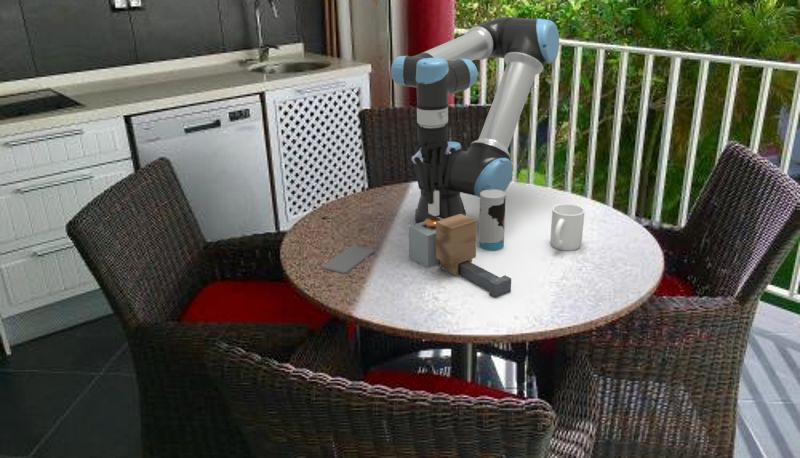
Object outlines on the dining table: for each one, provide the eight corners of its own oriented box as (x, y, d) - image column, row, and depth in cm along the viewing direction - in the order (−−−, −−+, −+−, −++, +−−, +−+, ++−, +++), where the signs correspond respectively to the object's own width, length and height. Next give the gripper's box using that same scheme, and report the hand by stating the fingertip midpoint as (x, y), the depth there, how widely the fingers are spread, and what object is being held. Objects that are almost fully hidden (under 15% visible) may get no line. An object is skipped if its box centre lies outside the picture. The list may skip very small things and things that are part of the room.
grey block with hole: (409, 257, 179) (408, 226, 176) (438, 247, 185) (438, 216, 181) (428, 268, 173) (427, 235, 170) (457, 257, 179) (458, 225, 175)
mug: (569, 259, 176) (572, 222, 172) (539, 251, 181) (541, 215, 177) (586, 242, 185) (589, 207, 181) (557, 236, 190) (559, 201, 186)
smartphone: (320, 266, 175) (352, 244, 187) (320, 270, 175) (352, 247, 187) (345, 272, 171) (376, 249, 183) (345, 276, 172) (376, 252, 183)
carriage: (436, 268, 172) (435, 221, 167) (460, 259, 176) (460, 213, 171) (451, 276, 168) (451, 228, 163) (475, 267, 172) (476, 220, 167)
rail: (435, 265, 175) (435, 253, 173) (450, 260, 177) (450, 247, 176) (495, 298, 158) (495, 284, 157) (510, 291, 161) (511, 278, 160)
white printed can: (508, 248, 183) (510, 195, 177) (485, 252, 181) (487, 199, 175) (496, 238, 189) (498, 187, 183) (474, 242, 187) (475, 191, 181)
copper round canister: (421, 245, 178) (421, 220, 175) (434, 240, 180) (434, 216, 178) (432, 250, 175) (431, 225, 172) (445, 245, 177) (445, 221, 174)
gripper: (421, 132, 159) (422, 225, 168) (463, 122, 166) (462, 212, 175) (401, 126, 164) (404, 216, 174) (443, 116, 171) (444, 203, 181)
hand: (433, 214), depth 174 cm, fingers closed
